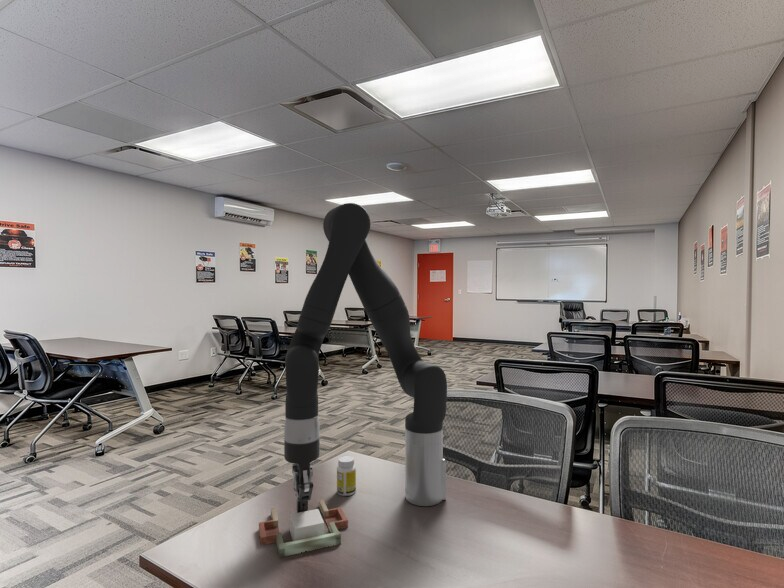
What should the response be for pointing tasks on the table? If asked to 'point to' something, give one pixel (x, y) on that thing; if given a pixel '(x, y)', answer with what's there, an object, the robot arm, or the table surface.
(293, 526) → the grey block
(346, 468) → the supplement bottle
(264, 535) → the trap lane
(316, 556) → the table surface
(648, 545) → the table surface
